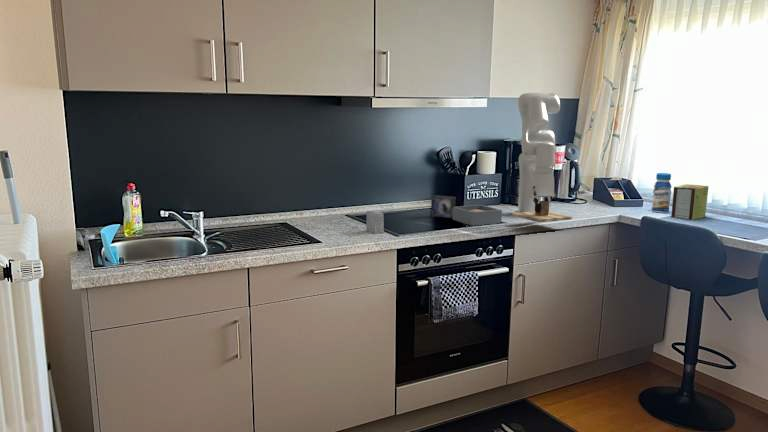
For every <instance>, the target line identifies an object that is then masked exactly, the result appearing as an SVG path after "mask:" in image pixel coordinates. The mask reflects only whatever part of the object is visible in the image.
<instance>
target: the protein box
mask: <svg viewBox="0 0 768 432" xmlns="http://www.w3.org/2000/svg"><path fill="white" fill-rule="evenodd" d="M709 188H710V187H709V185H699V184H691V183H689V184H688V183H687V184H681V185H676V186H673V192H672V193H673V195H672V205H671V216H670V218H674V219H675V218H676V219H682V220H687V221H688V220H690V221H694V220H698V219H702V218H705V217H706V212H707V203H708V194H709Z"/></svg>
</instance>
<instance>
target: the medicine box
mask: <svg viewBox="0 0 768 432" xmlns="http://www.w3.org/2000/svg"><path fill="white" fill-rule="evenodd" d="M365 216H366V217H365V220H366V223H365V224H366V225H365V226H366V227H365V228H366V231H367V232H370V233H372V234H376V235H377V234H384V231H385V230H384V228H385V227H384V225H385V224H384V213H383V212H382V211H381V212H380V211H377V210H368V211H366V215H365Z"/></svg>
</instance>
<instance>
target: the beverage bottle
mask: <svg viewBox="0 0 768 432" xmlns="http://www.w3.org/2000/svg"><path fill="white" fill-rule="evenodd" d="M671 178H672V175H671V173H668V172H657V173H656V178H655V179H656V182H655V183H654V185H653V191H652V193H653V195H652V196H653V197H652V205H651V206H652V207H651V211H652V212H654V213H658V214H659V213H660V214H667V213H669V212H670V201H671V194H672V190H671V189H672V184H671V182H670V181H671Z"/></svg>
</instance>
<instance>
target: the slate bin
mask: <svg viewBox="0 0 768 432" xmlns="http://www.w3.org/2000/svg"><path fill="white" fill-rule="evenodd" d="M475 209H478V210H484V211H479V212H472V211H469V210H475ZM502 212H503V211H502V209H500V208H496V207H492V206H487V205H483V204H473V205H472V204H471V205H461V206H455V207H453V217H452V220H453V221H455V222H459V223H462V224H465V225H469V226H471V227H474V226H484V225H494V224H501V223H502V218H503V217H502V216H503V215H502Z"/></svg>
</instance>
